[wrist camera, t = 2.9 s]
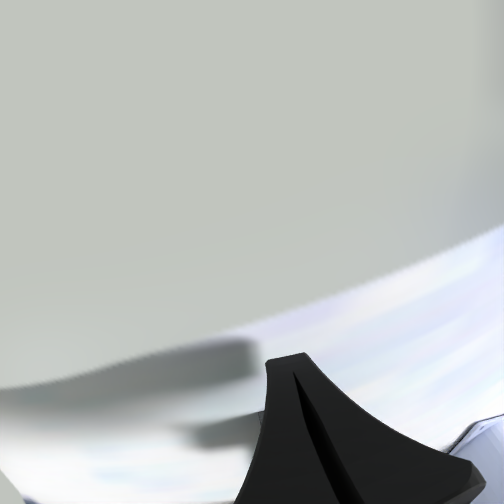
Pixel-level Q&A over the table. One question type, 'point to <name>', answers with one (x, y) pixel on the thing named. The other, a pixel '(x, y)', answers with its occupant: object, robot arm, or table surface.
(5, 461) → the table surface
